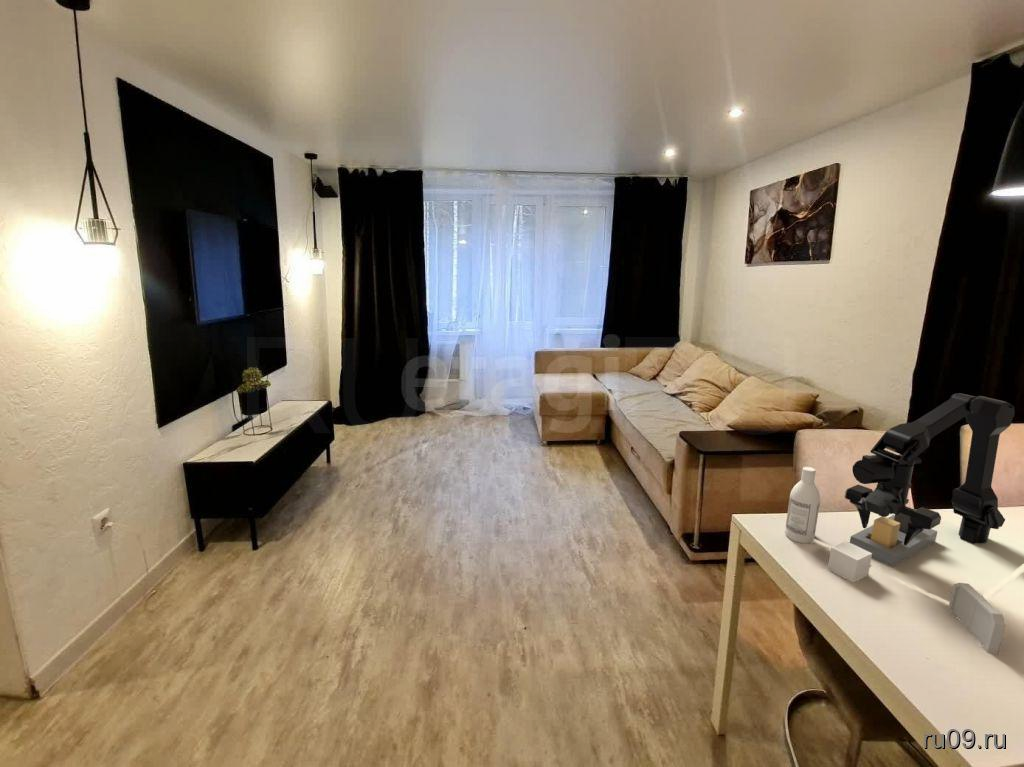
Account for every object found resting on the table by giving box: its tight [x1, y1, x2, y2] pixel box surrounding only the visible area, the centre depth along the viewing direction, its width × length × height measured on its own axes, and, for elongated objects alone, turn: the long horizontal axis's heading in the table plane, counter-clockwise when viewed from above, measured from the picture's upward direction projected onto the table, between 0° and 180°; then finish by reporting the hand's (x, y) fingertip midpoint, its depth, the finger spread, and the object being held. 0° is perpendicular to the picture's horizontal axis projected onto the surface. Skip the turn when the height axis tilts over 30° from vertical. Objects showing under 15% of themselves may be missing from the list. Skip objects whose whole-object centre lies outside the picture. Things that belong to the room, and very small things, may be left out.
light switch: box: [947, 582, 1006, 655], centre depth 99 cm, size 2×12×8 cm, turn 168°
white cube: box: [827, 540, 873, 583], centre depth 119 cm, size 6×6×6 cm
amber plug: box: [871, 516, 900, 548], centre depth 125 cm, size 4×4×8 cm
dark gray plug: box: [894, 513, 917, 535], centre depth 131 cm, size 4×4×8 cm
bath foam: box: [784, 466, 821, 544], centre depth 132 cm, size 7×7×20 cm
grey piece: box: [849, 514, 938, 567], centre depth 129 cm, size 22×10×4 cm, turn 119°
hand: (884, 536), depth 125 cm, fingers open, 9 cm apart
